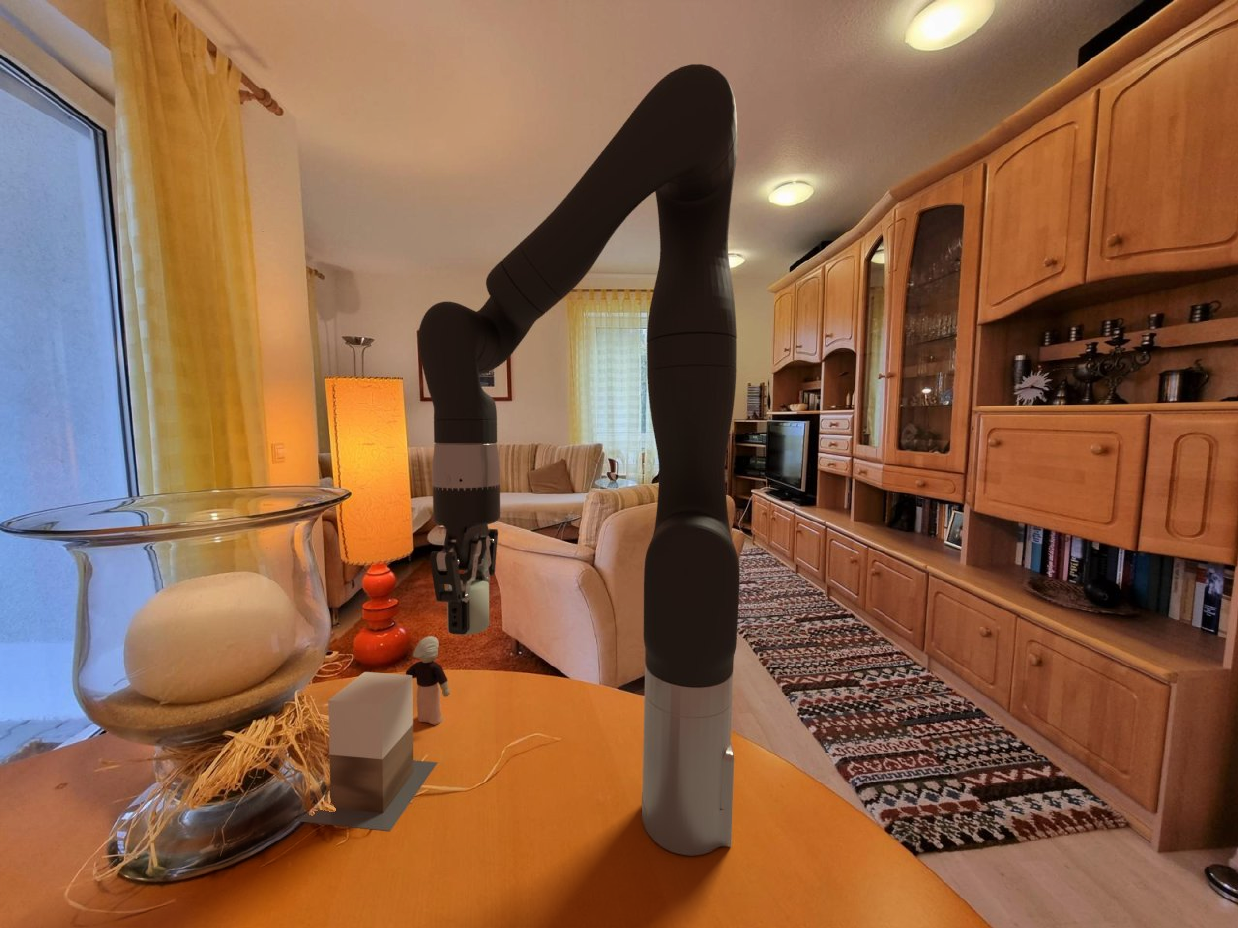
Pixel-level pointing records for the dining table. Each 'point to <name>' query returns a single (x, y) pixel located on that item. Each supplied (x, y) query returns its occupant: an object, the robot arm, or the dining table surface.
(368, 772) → the tower base
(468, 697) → the dining table surface
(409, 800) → the coaster
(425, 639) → the grandmother figurine
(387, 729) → the tower top
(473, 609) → the drum
